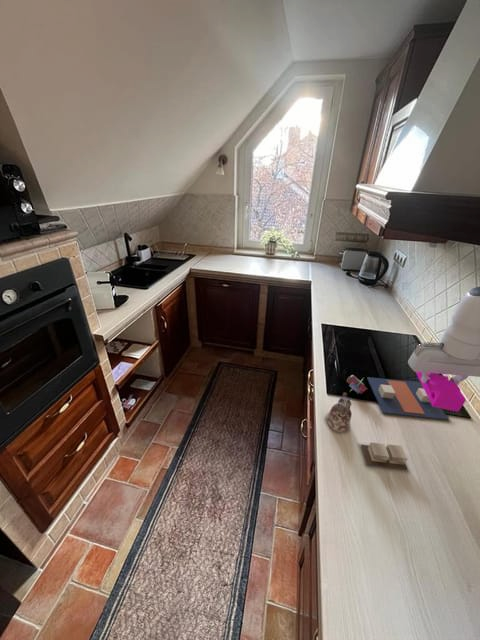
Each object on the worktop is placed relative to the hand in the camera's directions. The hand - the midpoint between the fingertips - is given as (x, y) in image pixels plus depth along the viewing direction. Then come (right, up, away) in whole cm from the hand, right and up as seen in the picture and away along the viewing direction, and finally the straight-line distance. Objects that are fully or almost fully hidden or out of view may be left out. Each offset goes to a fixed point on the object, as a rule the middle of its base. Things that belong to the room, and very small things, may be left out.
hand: (438, 382), depth 75 cm
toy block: (0, -3, +1) cm, 3 cm away
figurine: (-25, -17, +12) cm, 33 cm away
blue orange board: (+4, -11, +22) cm, 25 cm away
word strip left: (-16, -23, +1) cm, 28 cm away
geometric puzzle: (-14, -10, +25) cm, 30 cm away
